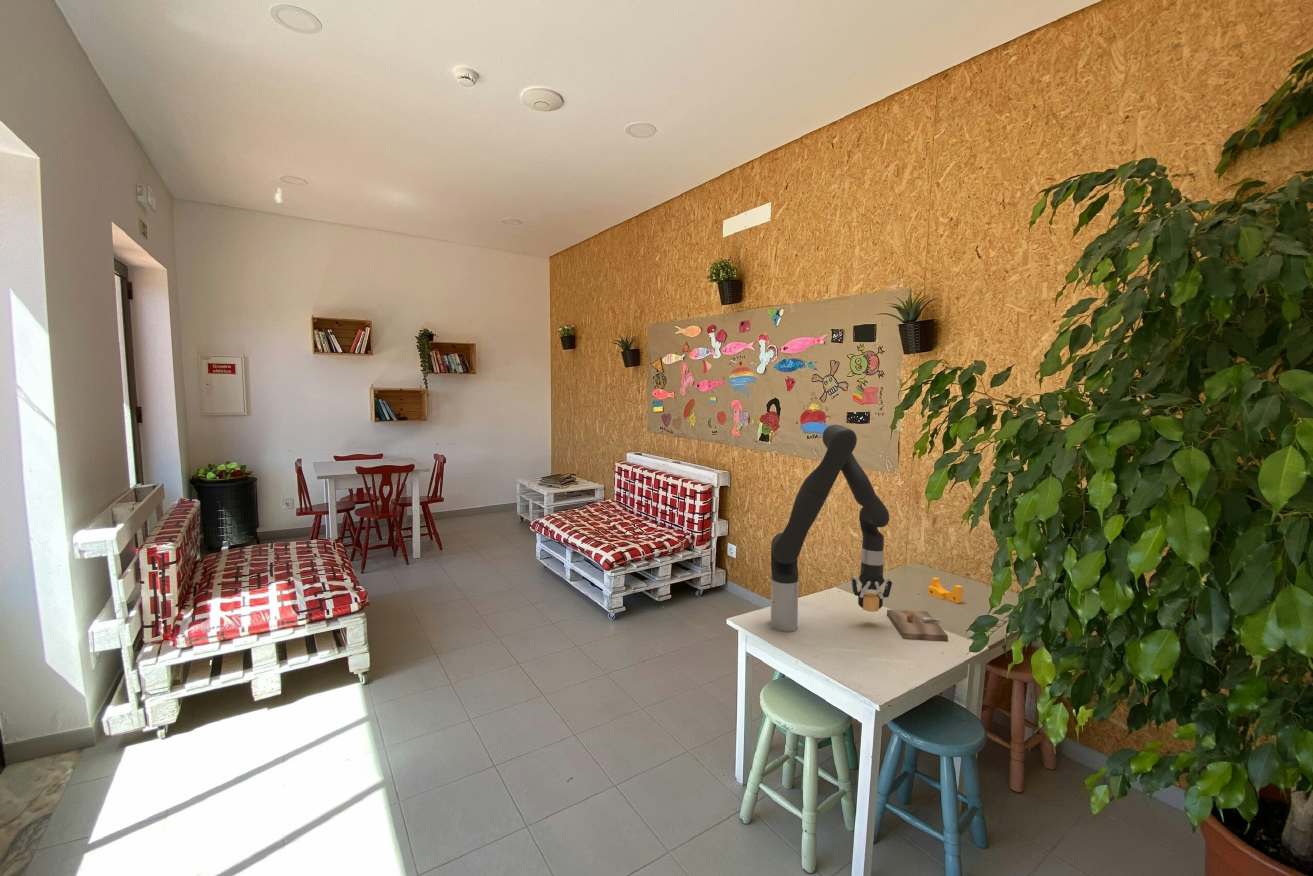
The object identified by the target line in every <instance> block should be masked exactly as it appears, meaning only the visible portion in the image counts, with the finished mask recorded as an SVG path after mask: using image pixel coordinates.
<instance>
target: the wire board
mask: <svg viewBox="0 0 1313 876" xmlns="http://www.w3.org/2000/svg"><path fill="white" fill-rule="evenodd" d="M886 616H887V617H888V618H889V620H890V622H891V623H892V625H893V626H894V627H895V629H896V630H897V632H898V633H899V635H900V636H901V638H902V639H904V640H918V641H939V642H948V641H949V635H948V634H947V632H945V630H944V629H943V628H942V627H941V626H940V625H939V624H940V619H939V618H936V617H932V616H931V615H930V613H928V611H920V610H918V611H917V610H903V609H902V610H900V609H898V610H897V609H886Z"/></svg>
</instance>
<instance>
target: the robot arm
mask: <svg viewBox="0 0 1313 876" xmlns="http://www.w3.org/2000/svg"><path fill="white" fill-rule="evenodd" d="M857 440H858V439H857V434H856V432H855V431H854V430H852V428H849V427H846V426H844V425H840V424H830V425H829V426H827V427H826V428H825V429H824V430H823V432H822V442H823V444H824V446H825V448H826V452H825V453H824V457H823V458H822V460H821V461H820V463H819V464H818V465H817V467H816V468H814V470H812V472H811V473H810V474H809V475H807V477H806V478H805V479H804V481H803V482H802V484H801V486H800V487H799V490H798V492H797V494H796V496H795V498H794V499H795V500H794V502H793V504H792V505H793V506H792V508H791V509H792V510H791V512H790V516H789V520H788V522H787V524H786V526H785V528H784V529H783V531H782V532H779V533H777V534H775V536H774V537H773V538H772V539H771V543H770V545H771V546H770V571H771V576H770V577H771V592H770V594H771V595H770V627H771V630H776V631H779V632H783V633H789V632H794V631H797V629H798V626H799V625H798V624H799V622H798V621H799V616H798V615H799V565H798V559H799V556H800V553H801V550H802V548H803V546H804V543H805V540H806V537H807V535H808V533H809V530H810V529H811V527H812V525H813V524H814V523H815V521H816V519H817V517H818V515H819V513H820V511H821V510H822V509H823V506H824V505H825V502H826V501H827V498H828V496H829V494H830V492H831V490H832V488H833V486H834V484H835V482H836V481H837V478H838V476H839V474H840V472H841V473H842V474H843V476H844V479H845V480H846V483H847V484H848V487H849V489H850V491H851V493H852V496H853V498H854V500H855V501H856V503H857V504H858V505H860V506H862V507H861V508H860V510H859V514H858V515H859V516H858V519H859V520H858V521H859V525H860V531H861V535H862V540H861V541H862V545H861V553H860V571H859V572H860V574H859V576H858V577H854V576H852V577H850V582H851V588H852V593H853V594H854V596H857V598H858V599H857V604H858V606H859V607H860V608H863V596H864V594H865V593H866V592H868V590H869V591H870V590H873V591H876V594H877V595H878V596H879V610H880V609H881V608H883V602H884V601H883V600H884V598H889V597H890V593H891V589H892V585H893V581H891V579H889V578H888V579H886V578H884V564H885V561H884V560H885V554H884V545H885V544H884V542H885V537H884V535H883V533H881V532H880V531H879V529H878V528H884V527H886V526H887V525H888V524H889V522H890V513H889V510H888V509H887V507H886V505H885V504H884V502H883V501H882V500H881V499H880V497H878V495H877V493H876V491H875V490H874V487H873V485H872V483H871V481H870V479H869V477H868V475H867V474H866V472H865V471H864V469H863V468H862V466H861V465H860V464H859V462H858V461H857V459H856V458H855V456H854V454H853V451H854V450H855V448H856V447H857V442H858V441H857ZM859 582H860V583H861V585H860V588H859V590H858V586H857V585H859ZM883 584H884V585H885V586H884V589H883V592H882V589H881V586H882V585H883Z"/></svg>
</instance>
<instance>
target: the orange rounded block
mask: <svg viewBox="0 0 1313 876" xmlns="http://www.w3.org/2000/svg"><path fill="white" fill-rule="evenodd" d="M862 610H863V611H867V612H871V613H872V612H873V613H876V612H879V610H880V609H879V596H878V593H875V592H872V591H871V592H868V591H866V593H865V594H864V596H863V608H862Z"/></svg>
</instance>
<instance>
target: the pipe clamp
mask: <svg viewBox="0 0 1313 876" xmlns="http://www.w3.org/2000/svg"><path fill="white" fill-rule="evenodd" d="M930 580H931V581H930V585H928V586H927V594H928V595H931V596H932V597H934V598H937V599H940V600H947V601H950V602H953V603H956V604H961V603H963V588H964V587H963V586H962V585H959V584H956V585H953V588H952V590H951V591H949V590H947V589H945V588H944V587H943V586H942V584H941V578H939V577H936V576H935V577H931V578H930Z"/></svg>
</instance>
